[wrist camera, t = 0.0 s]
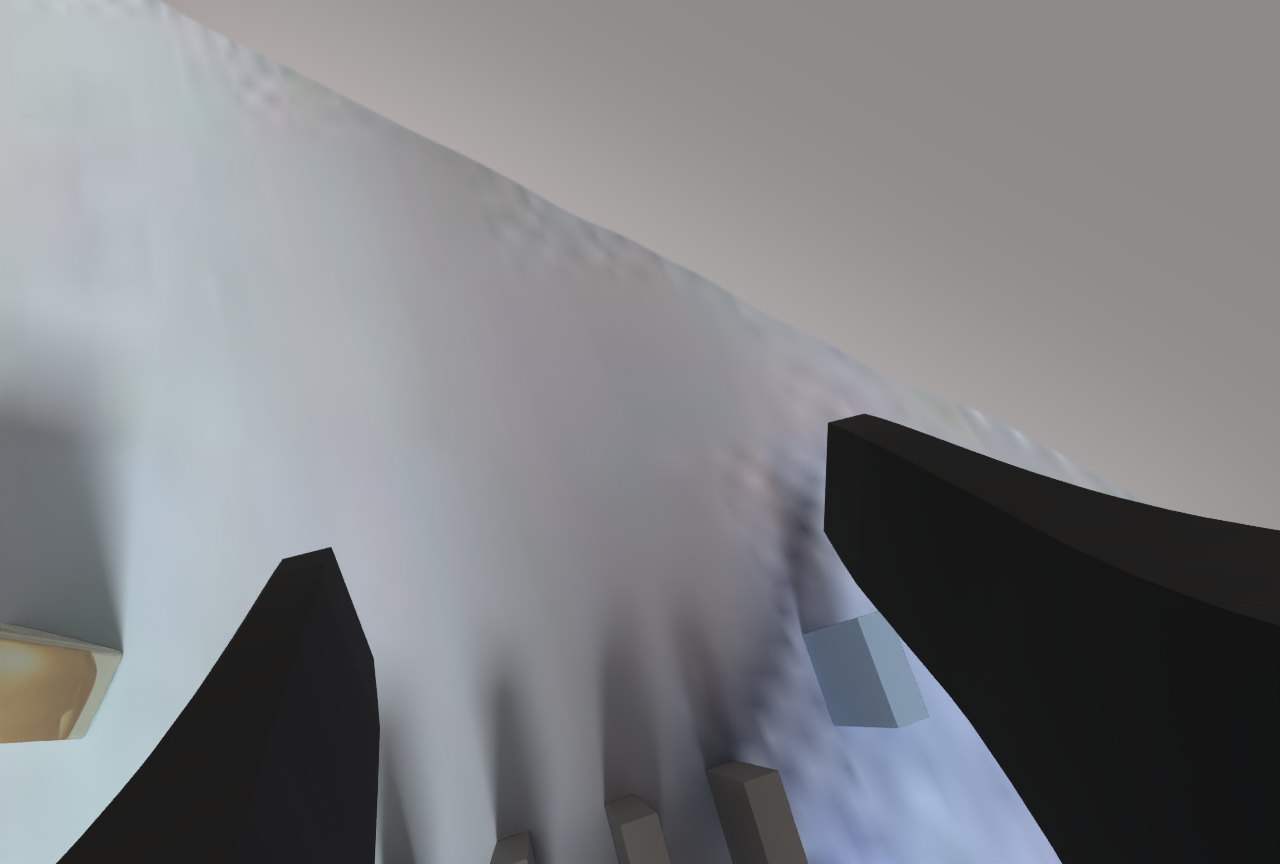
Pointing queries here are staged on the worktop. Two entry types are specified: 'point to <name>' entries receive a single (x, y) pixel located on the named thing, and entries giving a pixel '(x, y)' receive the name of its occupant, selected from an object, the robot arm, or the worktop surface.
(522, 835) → the domino
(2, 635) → the skincare box
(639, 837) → the domino
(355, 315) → the worktop surface
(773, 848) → the domino
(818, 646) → the domino
